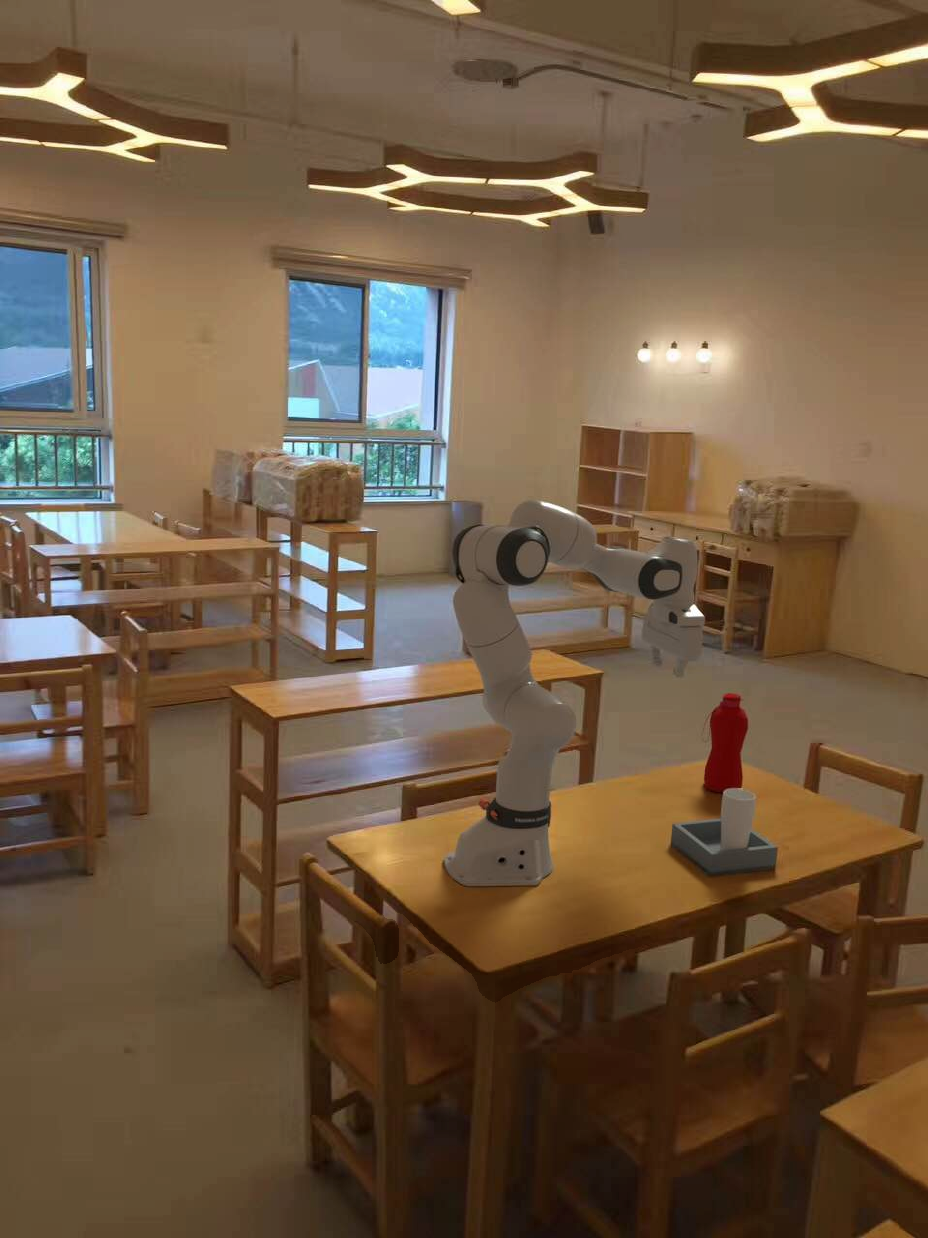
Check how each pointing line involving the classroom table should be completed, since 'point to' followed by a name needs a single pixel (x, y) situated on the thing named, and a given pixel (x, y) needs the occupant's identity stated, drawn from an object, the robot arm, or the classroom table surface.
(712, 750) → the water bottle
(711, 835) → the bin
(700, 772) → the classroom table surface
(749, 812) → the drinking glass
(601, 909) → the classroom table surface
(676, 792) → the classroom table surface
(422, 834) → the classroom table surface
